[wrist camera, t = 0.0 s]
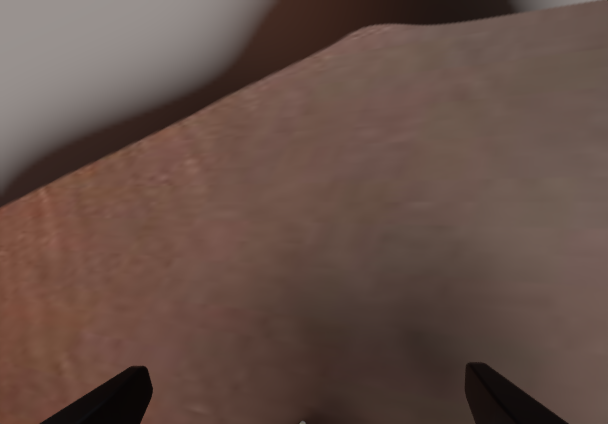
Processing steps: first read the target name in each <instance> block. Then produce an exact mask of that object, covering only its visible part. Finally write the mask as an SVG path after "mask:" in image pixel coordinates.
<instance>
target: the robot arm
mask: <svg viewBox="0 0 608 424" xmlns="http://www.w3.org/2000/svg"><path fill="white" fill-rule="evenodd" d="M152 393H153V387H152V383H151V380H150V376H149V372H148V369H147V368H146V367H145V366H131V367H129V368H127V369H126V370H124V371H123V372H121V373H120V374H118V375H116V376H115V377H113V378H112V379H110V380H108V381H107V382H105V383H104V384H102V385H100V386H99V387H97V388H96V389H94V390H92V391H91V392H89V393H88V394H86V395H84V396H83V397H81V398H80V399H78V400H76V401H75V402H73V403H72V404H70V405H68V406H67V407H65V408H64V409H62V410H60V411H59V412H57V413H56V414H54V415H53V416H51V417H49V418H48V419H46V420H45V421H43V422H41V423H40V424H140V423H141V420H142V418H143V416H144V414H145V411H146V409H147V407H148V404H149V402H150V400H151V397H152ZM465 394H466V398H467V401H468V403H469V406H470V409H471V412H472V414H473V417H474V420H475V423H476V424H568V423H567V422H566V421H564V420H563V419H561V418H560V417H559V416H557V415H556V414H555V413H553V412H552V411H550V410H549V409H548V408H546V407H545V406H543V405H542V404H541V403H539V402H538V401H537V400H535V399H534V398H532V397H531V396H530V395H528V394H527V393H525V392H524V391H523V390H521V389H520V388H519V387H517V386H516V385H514V384H513V383H512V382H510V381H509V380H507V379H506V378H505V377H503V376H502V375H501V374H499V373H498V372H496V371H495V370H494V369H492V368H491V367H490V366H488V365H487V364H485V363H482V362H470V363H467V365H466V373H465Z"/></svg>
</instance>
